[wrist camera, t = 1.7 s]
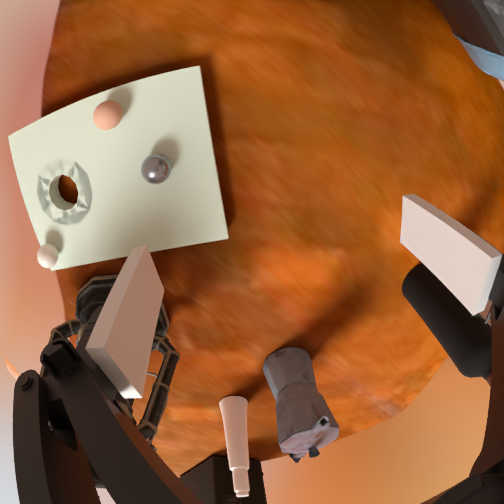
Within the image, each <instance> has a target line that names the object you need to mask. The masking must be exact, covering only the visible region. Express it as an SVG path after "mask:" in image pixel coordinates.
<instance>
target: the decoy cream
mask: <svg viewBox="0 0 504 504" xmlns="http://www.w3.org/2000/svg"><path fill="white" fill-rule="evenodd" d="M58 257H59V254H58V251H57V249H56V247H55V246H54V245H52V244H44V245H42V246H41V247H40V248H39V250H38V253H37V259H38V262H39V263H40V265H41V266H43V267H45V268H51V267H53V266H55V264H56V263H57V261H58Z"/></svg>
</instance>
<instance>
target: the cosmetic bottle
mask: <svg viewBox="0 0 504 504" xmlns="http://www.w3.org/2000/svg"><path fill="white" fill-rule="evenodd" d="M219 405H220V408H221V413H222V417H223V423H224V430H225V438H226V446H227V454H228V461H229V467H230V470H231V471H232V474H233V485H234V491H235V492H236V493H237V494H236V496H237V497H246V496H249V493H248V492H249V491H250V487H249V479H248V471H247V470H248V469H249V451H248V437H247V405H248V401H247V400H246V399H245V398H243V397H241V396H228V397H225V398H223V399H222V400H221V401H220V402H219Z"/></svg>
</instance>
